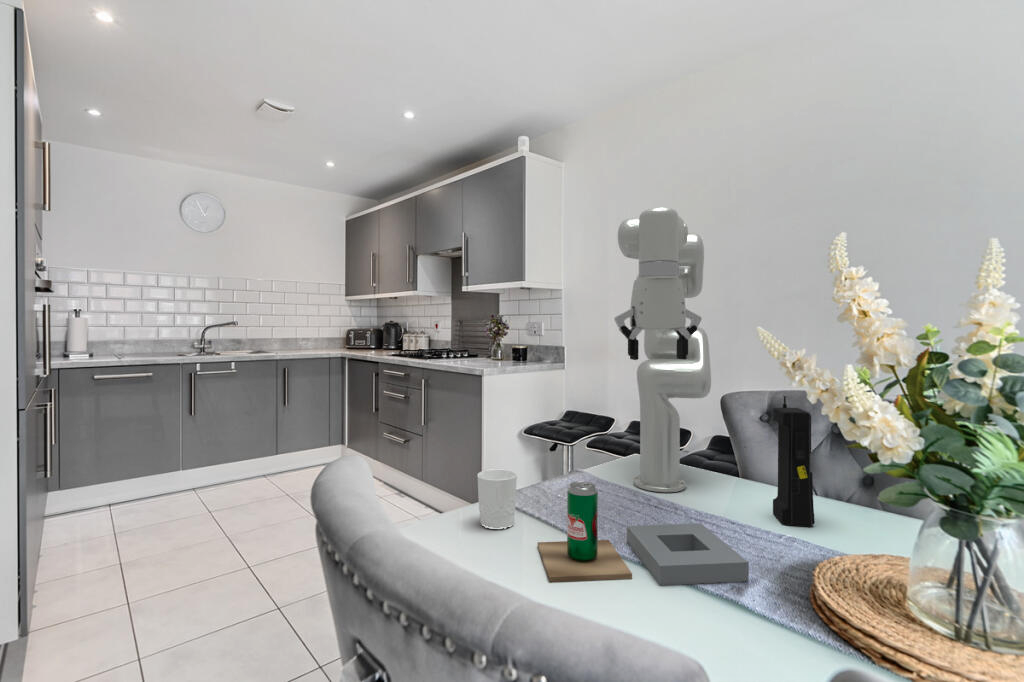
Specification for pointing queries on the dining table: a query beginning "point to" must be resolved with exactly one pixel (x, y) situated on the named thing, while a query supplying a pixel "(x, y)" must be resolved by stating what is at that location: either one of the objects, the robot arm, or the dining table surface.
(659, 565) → the socket block
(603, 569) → the walnut pad
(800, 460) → the portable radio
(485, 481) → the white cup
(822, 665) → the dining table surface
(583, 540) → the soda can
